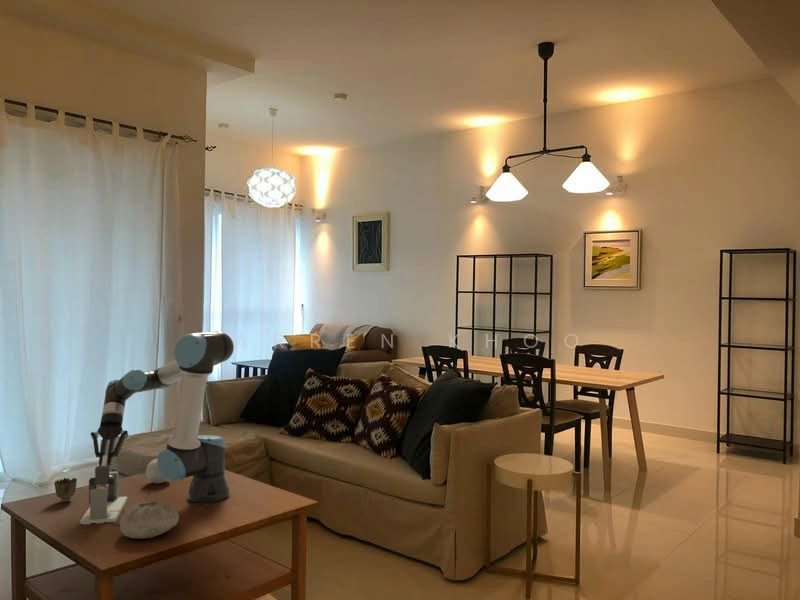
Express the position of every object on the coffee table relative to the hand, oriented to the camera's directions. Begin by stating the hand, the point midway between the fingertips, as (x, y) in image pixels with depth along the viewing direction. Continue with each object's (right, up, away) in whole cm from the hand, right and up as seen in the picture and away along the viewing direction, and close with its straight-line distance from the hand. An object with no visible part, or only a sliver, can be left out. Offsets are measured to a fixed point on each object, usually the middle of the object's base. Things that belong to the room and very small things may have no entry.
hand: (103, 473), depth 227 cm
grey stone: (+24, -15, -19) cm, 34 cm away
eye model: (+6, -14, +35) cm, 39 cm away
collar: (+1, -9, -2) cm, 9 cm away
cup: (-20, -14, +12) cm, 27 cm away
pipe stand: (0, -14, +2) cm, 14 cm away
